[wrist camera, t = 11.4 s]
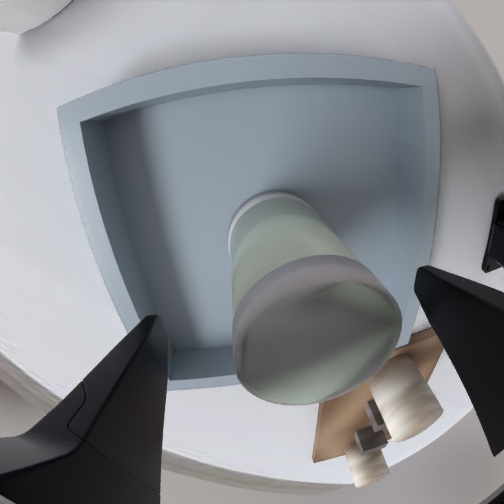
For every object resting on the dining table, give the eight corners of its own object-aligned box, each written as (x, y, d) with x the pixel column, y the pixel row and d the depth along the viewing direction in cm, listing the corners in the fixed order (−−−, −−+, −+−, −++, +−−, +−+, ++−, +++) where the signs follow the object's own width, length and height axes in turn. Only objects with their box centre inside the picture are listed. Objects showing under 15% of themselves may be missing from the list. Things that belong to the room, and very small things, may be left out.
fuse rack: (445, 322, 20) (488, 374, 14) (391, 432, 30) (407, 469, 23) (323, 360, 19) (352, 438, 13) (312, 457, 29) (322, 499, 23)
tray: (400, 73, 11) (435, 69, 8) (388, 316, 18) (408, 343, 15) (87, 107, 10) (56, 107, 8) (165, 356, 18) (160, 391, 15)
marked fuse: (316, 185, 13) (416, 263, 6) (319, 268, 15) (384, 383, 8) (221, 197, 13) (217, 299, 6) (235, 281, 15) (247, 415, 7)
